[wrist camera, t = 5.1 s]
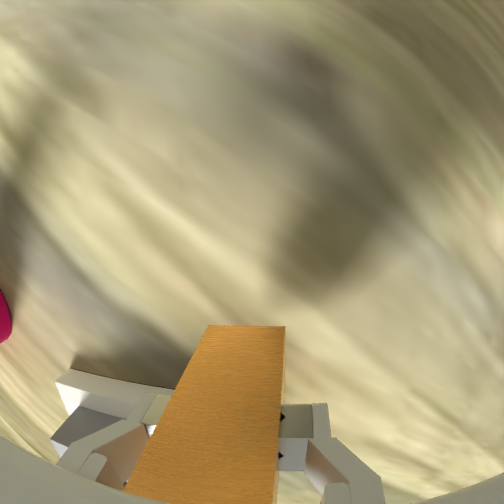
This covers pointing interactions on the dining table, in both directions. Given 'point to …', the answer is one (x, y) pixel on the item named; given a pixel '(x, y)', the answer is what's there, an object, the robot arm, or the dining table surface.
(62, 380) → the socket
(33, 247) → the dining table surface
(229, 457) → the pin
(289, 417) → the robot arm
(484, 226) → the dining table surface
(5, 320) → the pepper mill
